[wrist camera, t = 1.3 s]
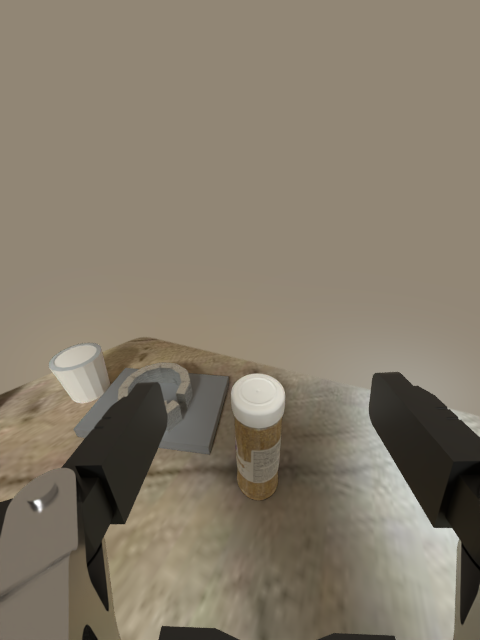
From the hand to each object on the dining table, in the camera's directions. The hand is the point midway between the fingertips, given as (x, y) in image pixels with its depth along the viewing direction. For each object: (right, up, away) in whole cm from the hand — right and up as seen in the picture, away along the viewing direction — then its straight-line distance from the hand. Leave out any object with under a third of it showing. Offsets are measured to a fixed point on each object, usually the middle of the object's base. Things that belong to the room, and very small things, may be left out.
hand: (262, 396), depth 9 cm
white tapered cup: (-25, -9, +31) cm, 40 cm away
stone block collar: (-13, -9, +26) cm, 30 cm away
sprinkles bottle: (+1, -15, +18) cm, 23 cm away
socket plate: (-13, -10, +27) cm, 31 cm away
